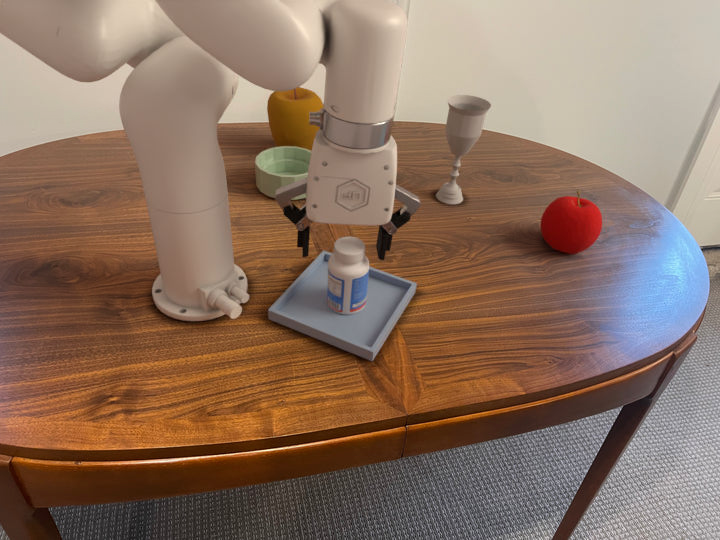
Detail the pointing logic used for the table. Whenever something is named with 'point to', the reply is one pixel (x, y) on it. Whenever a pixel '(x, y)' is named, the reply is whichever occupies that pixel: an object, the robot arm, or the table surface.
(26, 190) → the table surface
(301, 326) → the tray
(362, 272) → the pill bottle
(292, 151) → the bowl
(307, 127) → the apple
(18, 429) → the table surface
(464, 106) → the chalice
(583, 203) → the fruit
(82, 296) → the table surface
